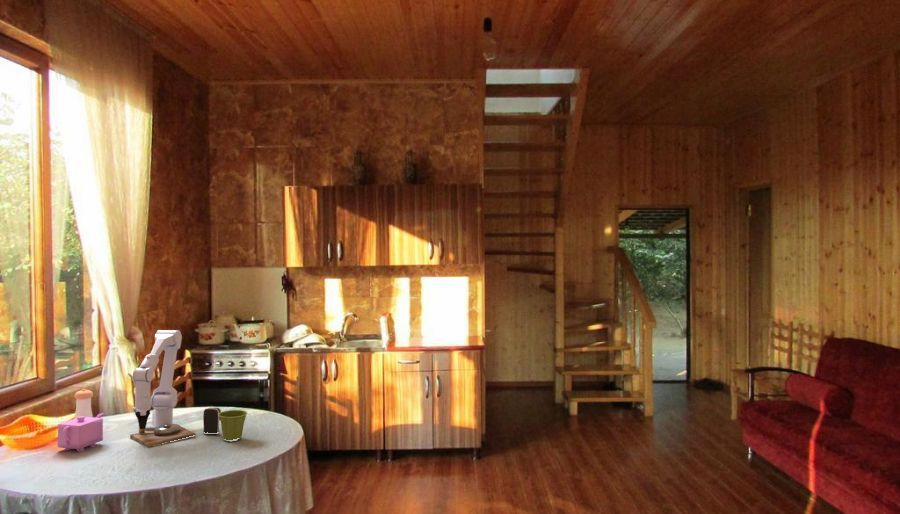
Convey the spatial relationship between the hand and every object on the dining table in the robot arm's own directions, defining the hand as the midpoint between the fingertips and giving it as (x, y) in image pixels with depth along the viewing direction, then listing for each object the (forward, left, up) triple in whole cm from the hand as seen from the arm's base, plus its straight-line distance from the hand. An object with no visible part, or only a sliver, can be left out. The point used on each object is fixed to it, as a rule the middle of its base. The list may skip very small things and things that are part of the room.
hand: (142, 428), depth 250 cm
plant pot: (+26, +27, -5) cm, 38 cm away
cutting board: (+2, +8, -5) cm, 9 cm away
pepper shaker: (-30, -13, -5) cm, 33 cm away
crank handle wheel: (-1, +7, -3) cm, 8 cm away
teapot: (-9, -19, -5) cm, 22 cm away
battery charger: (+12, +25, -5) cm, 28 cm away
